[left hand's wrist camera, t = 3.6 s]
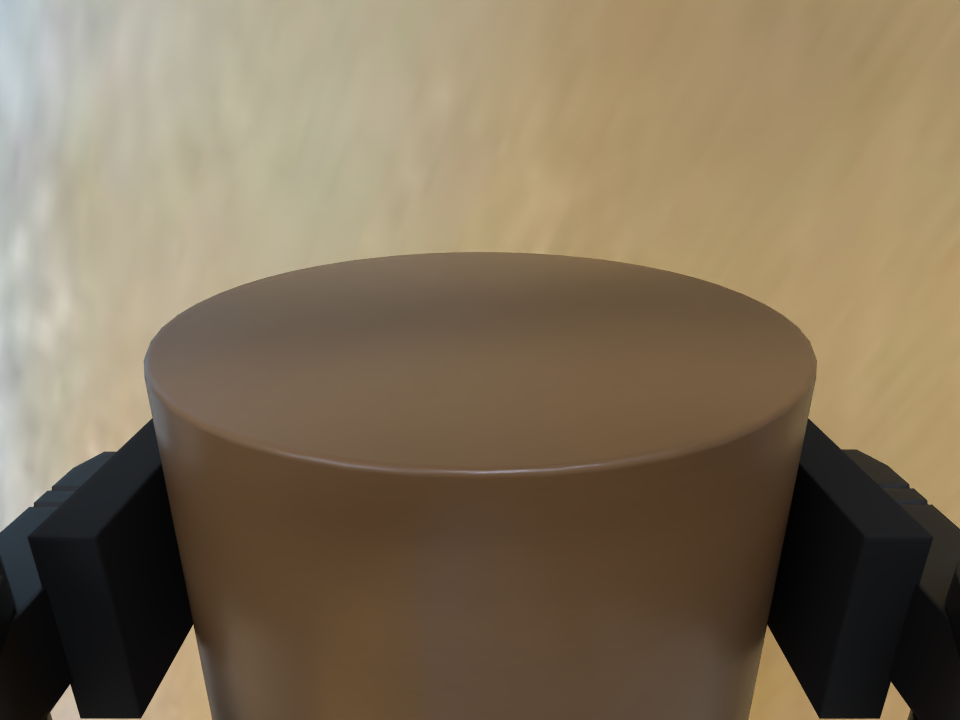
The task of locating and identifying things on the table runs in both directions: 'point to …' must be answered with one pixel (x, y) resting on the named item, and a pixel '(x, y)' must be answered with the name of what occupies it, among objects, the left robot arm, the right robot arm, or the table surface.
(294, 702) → the rod
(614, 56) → the table surface
